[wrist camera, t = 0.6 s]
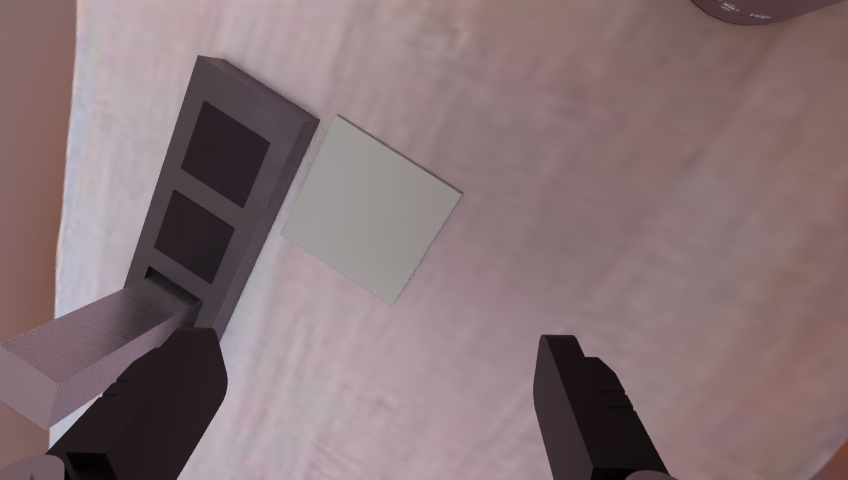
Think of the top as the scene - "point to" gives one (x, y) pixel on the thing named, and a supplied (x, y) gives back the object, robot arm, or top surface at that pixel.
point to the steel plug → (90, 348)
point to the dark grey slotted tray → (220, 186)
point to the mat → (368, 210)
